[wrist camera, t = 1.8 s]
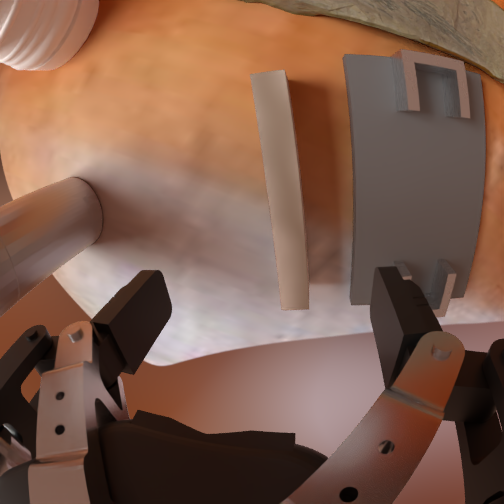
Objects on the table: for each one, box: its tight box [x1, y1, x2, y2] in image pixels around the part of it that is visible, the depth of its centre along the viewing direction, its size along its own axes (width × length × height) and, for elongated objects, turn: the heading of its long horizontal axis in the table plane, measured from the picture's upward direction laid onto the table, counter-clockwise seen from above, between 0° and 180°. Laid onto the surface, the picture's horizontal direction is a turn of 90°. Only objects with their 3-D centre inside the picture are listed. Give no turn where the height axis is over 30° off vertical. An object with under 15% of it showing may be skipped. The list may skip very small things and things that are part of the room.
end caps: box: [390, 49, 470, 317], centre depth 20 cm, size 6×24×3 cm, turn 6°
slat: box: [250, 70, 309, 310], centre depth 23 cm, size 2×20×5 cm, turn 8°
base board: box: [343, 54, 486, 305], centre depth 22 cm, size 14×24×2 cm, turn 6°
